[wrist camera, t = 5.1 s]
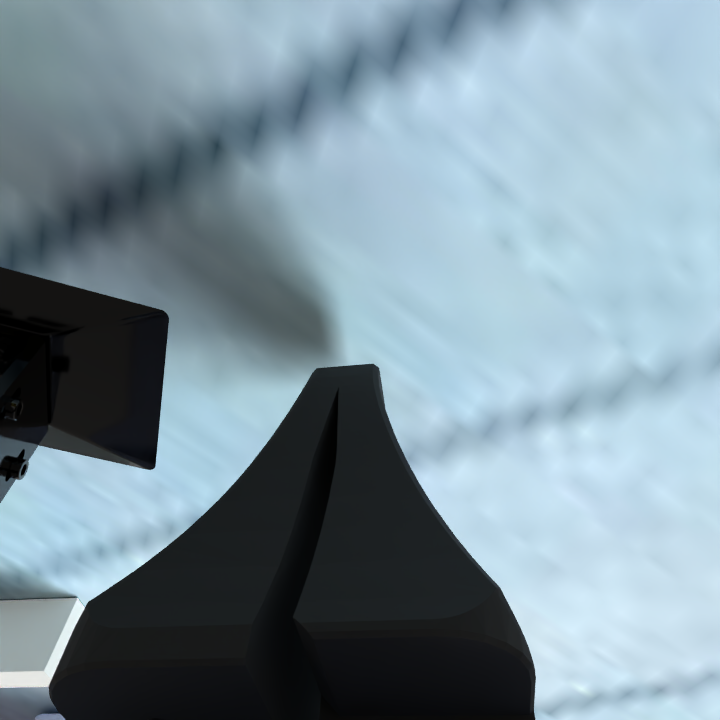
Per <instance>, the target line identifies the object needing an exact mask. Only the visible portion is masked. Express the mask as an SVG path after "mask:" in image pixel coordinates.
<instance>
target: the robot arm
mask: <svg viewBox="0 0 720 720" xmlns="http://www.w3.org/2000/svg"><path fill="white" fill-rule="evenodd" d="M535 680H536V676H535V668H534V664H533V660H532V657H531V653H530V650H529V647H528V645H527V642H526V640H525V637H524V635H523V633H522V631H521V628H520V626H519V624H518V622H517V620H516V618H515V616H514V614H513V612H512V610H511V608H510V606H509V604H508V602H507V600H506V599H505V597H504V595H503V593H502V591H501V589H500V587H499V586H498V585H497V584H496V583H495V582H494V581H493V580H492V579H491V577H490V576H489V575H488V574H487V573H486V572H485V571H484V570H483V569H482V568H481V567H480V565H479V564H478V563H477V562H476V561H475V560H474V559H473V558H472V556H471V555H470V554H469V553H468V551H467V550H466V549H465V548H464V547H463V545H462V544H461V543H460V542H459V540H458V539H457V538H456V537H455V535H454V534H453V532H452V531H451V530H450V528H449V527H448V526H447V524H446V523H445V521H444V520H443V519H442V517H441V516H440V515H439V513H438V512H437V510H436V509H435V508H434V506H433V505H432V503H431V501H430V500H429V498H428V497H427V495H426V494H425V492H424V490H423V489H422V487H421V485H420V484H419V482H418V480H417V479H416V477H415V475H414V473H413V471H412V470H411V468H410V466H409V464H408V462H407V460H406V458H405V456H404V454H403V452H402V450H401V448H400V445H399V443H398V441H397V439H396V436H395V434H394V432H393V429H392V426H391V424H390V421H389V418H388V416H387V413H386V410H385V404H384V397H383V390H382V384H381V377H380V371H379V368H378V367H377V366H376V365H374V364H364V365H352V366H339V367H327V368H317V369H316V370H315V371H314V372H313V373H312V375H311V376H310V378H309V380H308V382H307V383H306V385H305V387H304V388H303V390H302V392H301V393H300V395H299V397H298V398H297V400H296V401H295V403H294V405H293V406H292V408H291V409H290V411H289V412H288V414H287V415H286V417H285V418H284V420H283V421H282V423H281V424H280V426H279V427H278V428H277V430H276V431H275V433H274V434H273V436H272V437H271V438H270V440H269V441H268V442H267V444H266V445H265V446H264V448H263V449H262V450H261V452H260V453H259V454H258V455H257V457H256V458H255V459H254V461H253V462H252V463H251V464H250V466H249V467H248V468H247V469H246V470H245V472H244V473H243V474H242V475H241V476H240V477H239V479H238V480H237V481H236V482H235V483H234V484H233V485H232V486H231V487H230V488H229V490H228V491H227V492H226V493H225V494H224V495H223V496H222V497H221V498H220V499H219V500H218V501H217V502H216V503H215V504H214V505H213V506H212V507H211V508H210V509H209V510H208V511H207V512H206V513H205V514H204V515H203V516H201V517H200V518H199V519H198V520H197V521H196V522H195V523H194V524H193V525H192V526H191V527H190V528H188V529H187V530H186V531H185V532H184V533H183V534H182V535H180V536H179V537H178V538H177V539H175V540H174V541H173V542H172V543H171V544H169V545H168V546H167V547H166V548H164V549H163V550H162V551H161V552H159V553H158V554H157V555H155V556H154V557H153V558H151V559H150V560H149V561H148V562H146V563H145V564H143V565H142V566H141V567H139V568H138V569H137V570H135V571H134V572H132V573H131V574H129V575H128V576H126V577H125V578H124V579H122V580H121V581H119V582H118V583H116V584H115V585H113V586H112V587H110V588H109V589H107V590H106V591H104V592H103V593H101V594H100V595H98V596H97V597H95V598H94V599H92V600H91V601H89V602H88V603H87V605H86V607H85V609H84V611H83V613H82V614H81V616H80V618H79V620H78V622H77V624H76V625H75V628H74V630H73V632H72V634H71V636H70V639H69V641H68V643H67V645H66V648H65V650H64V652H63V655H62V657H61V659H60V661H59V664H58V666H57V668H56V670H55V673H54V675H53V677H52V680H51V682H50V684H49V695H50V698H51V701H52V702H53V704H54V706H55V707H56V709H57V710H58V712H59V713H60V714H40V715H38V716H36V718H35V720H535V715H534V697H535Z"/></svg>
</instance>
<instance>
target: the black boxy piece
mask: <svg viewBox="0 0 720 720" xmlns="http://www.w3.org/2000/svg"><path fill="white" fill-rule="evenodd" d="M168 323H169V317H168V315H167V313H166V312H164V311H163V310H160V309H156V308H152V307H148V306H145V305H141V304H137V303H133V302H130V301H126V300H122V299H118V298H115V297H111V296H107V295H103V294H99V293H96V292H92V291H88V290H84V289H81V288H77V287H73V286H69V285H66V284H62V283H58V282H54V281H51V280H47V279H43V278H39V277H36V276H32V275H28V274H24V273H20V272H17V271H13V270H9V269H5V268H2V267H0V503H1V501H2V500H3V498H4V497H5V495H6V494H7V492H8V491H9V489H10V488H11V486H12V485H13V483H14V482H15V480H16V479H17V480H21V479H22V478H23V477H24V476H25V474H26V472H27V469H28V464H29V463H28V460H29V459H30V457H31V456H32V454H33V453H34V451H35V450H36V448H37V447H38V445H40V446H44V447H49V448H53V449H58V450H62V451H67V452H71V453H76V454H80V455H85V456H89V457H94V458H98V459H103V460H107V461H112V462H116V463H121V464H125V465H130V466H134V467H139V468H143V469H148V470H152V469H154V468H155V464H156V453H157V442H158V432H159V421H160V410H161V399H162V388H163V377H164V366H165V355H166V344H167V334H168Z"/></svg>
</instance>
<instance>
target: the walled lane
mask: <svg viewBox="0 0 720 720" xmlns="http://www.w3.org/2000/svg"><path fill="white" fill-rule="evenodd" d="M84 609H85V607H84V606H83V604H82V603H81V602H80V600H79V599H78V598H58V599H30V600H2V601H0V688H14V687H49V684H50V682H51V680H52V677H53V675H54V673H55V670H56V668H57V666H58V664H59V661H60V659H61V657H62V655H63V652H64V650H65V648H66V645H67V643H68V641H69V639H70V636H71V634H72V632H73V630H74V628H75V625H76V624H77V622H78V620H79V618H80V616H81V614H82V613H83V611H84Z"/></svg>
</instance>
